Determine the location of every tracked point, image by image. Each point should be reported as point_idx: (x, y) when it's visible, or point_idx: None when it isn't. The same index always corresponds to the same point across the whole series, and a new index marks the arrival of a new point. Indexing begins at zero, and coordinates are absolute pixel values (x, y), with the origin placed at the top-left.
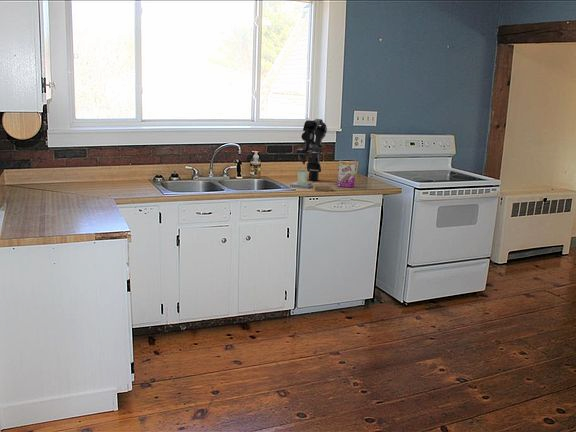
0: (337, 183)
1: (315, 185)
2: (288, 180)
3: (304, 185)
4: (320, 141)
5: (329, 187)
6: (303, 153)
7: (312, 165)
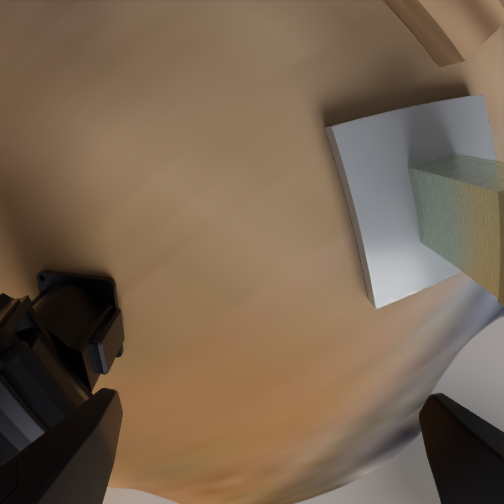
0: None
1: (501, 14)
2: (266, 416)
3: (486, 131)
4: None
5: None
6: None
7: (65, 409)
